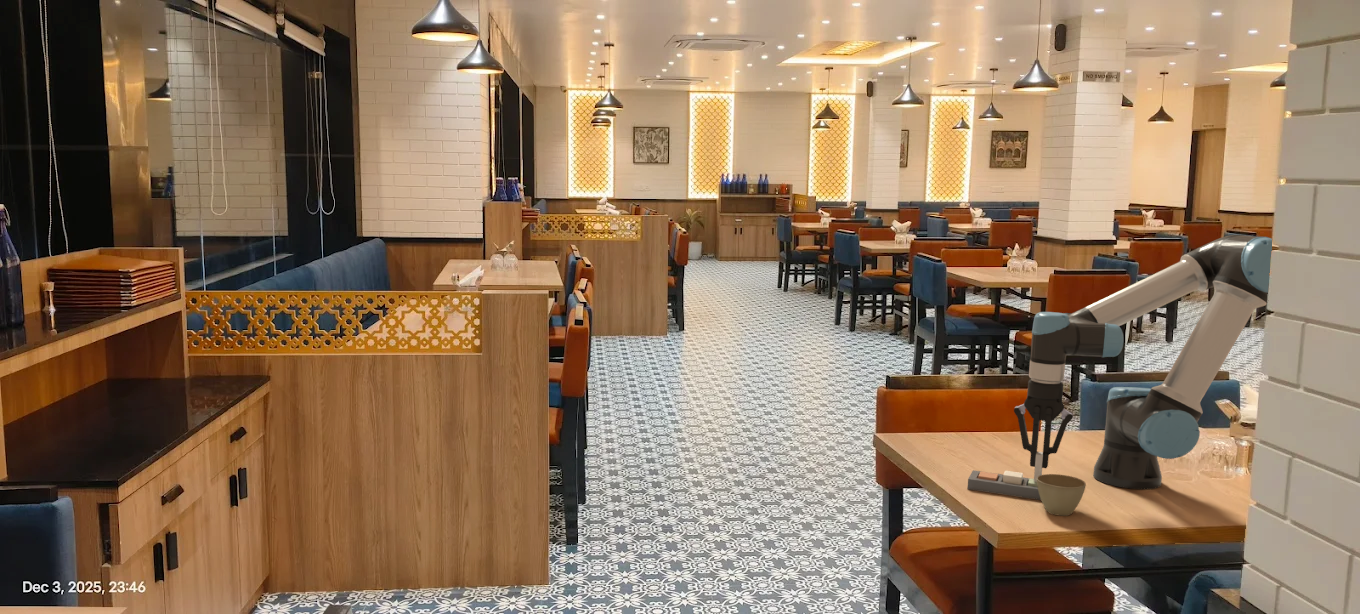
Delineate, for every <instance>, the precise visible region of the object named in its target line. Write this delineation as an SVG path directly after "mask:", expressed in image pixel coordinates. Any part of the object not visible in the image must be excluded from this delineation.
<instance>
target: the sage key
mask: <svg viewBox="0 0 1360 614" xmlns="http://www.w3.org/2000/svg"><path fill="white" fill-rule="evenodd" d="M1028 478H1029V477H1028ZM1028 486H1033V487H1037V482H1034V478H1029V481H1028Z"/></svg>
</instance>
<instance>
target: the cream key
mask: <svg viewBox="0 0 1360 614" xmlns="http://www.w3.org/2000/svg"><path fill="white" fill-rule="evenodd" d="M1023 477H1024V472H1018V471H1017V472H1016V471H1012V470H1004V473H1003V482H1005V483H1012V484H1019V485H1022V480H1023Z"/></svg>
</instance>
